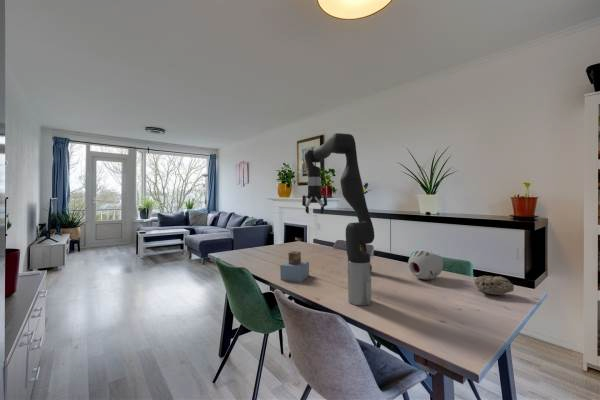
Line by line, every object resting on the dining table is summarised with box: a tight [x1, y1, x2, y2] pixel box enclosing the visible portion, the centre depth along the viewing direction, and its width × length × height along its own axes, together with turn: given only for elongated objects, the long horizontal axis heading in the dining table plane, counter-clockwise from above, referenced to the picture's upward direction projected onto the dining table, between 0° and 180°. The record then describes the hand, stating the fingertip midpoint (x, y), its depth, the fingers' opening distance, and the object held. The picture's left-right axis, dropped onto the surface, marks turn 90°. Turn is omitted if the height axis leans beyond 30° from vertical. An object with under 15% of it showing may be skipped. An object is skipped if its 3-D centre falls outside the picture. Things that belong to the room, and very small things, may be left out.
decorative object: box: [408, 250, 445, 281], centre depth 143 cm, size 16×19×15 cm
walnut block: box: [287, 250, 302, 265], centre depth 148 cm, size 5×5×6 cm
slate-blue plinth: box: [279, 259, 310, 283], centre depth 148 cm, size 12×12×8 cm
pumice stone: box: [473, 275, 515, 296], centre depth 119 cm, size 14×12×8 cm
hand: (314, 213), depth 156 cm, fingers open, 8 cm apart
